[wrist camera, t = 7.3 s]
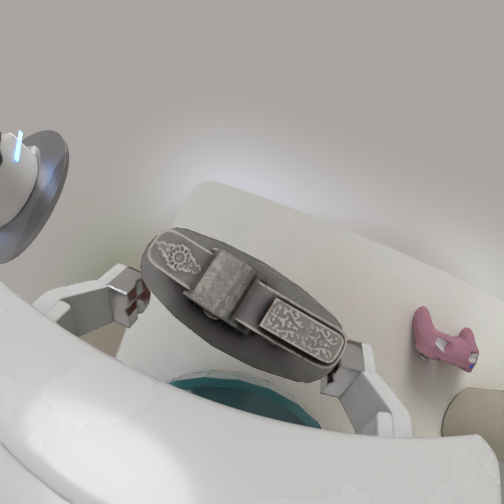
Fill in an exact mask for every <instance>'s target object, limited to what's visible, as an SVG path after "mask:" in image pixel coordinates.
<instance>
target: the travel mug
mask: <svg viewBox="0 0 504 504" xmlns="http://www.w3.org/2000/svg"><path fill="white" fill-rule="evenodd" d="M442 433H443V437H450V436H463V435H474V434H477V435H480V436H481V437H482V438H483V439H484V440H485V441H486V442H487V443H488V445H489V446H490V447H491V448H492V450H493V451H494V453H495V454H496V457H497V460H498V461H502V462H504V391H499V390H487V389H477V388H468V389H465V390H463V391H462V392H461V393H459V394H458V395H457V396H456V397H455V399H454V400H453V401H452V403H451V404H450V406H449V408H448V410H447V412H446V415H445V417H444V421H443V427H442Z"/></svg>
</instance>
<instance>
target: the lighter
mask: <svg viewBox="0 0 504 504" xmlns="http://www.w3.org/2000/svg"><path fill="white" fill-rule="evenodd" d="M140 269H141V276H142V279H143V281H144V283H145V285H146V286H147V288H148V289H149V290H150V291H151V292H152V293H153V294H154V295H155V296H156V297H157V299H158V300H159V301H160V302H161V303H162V304H163V305H164V306H165V307H166V308H167V309H168V310H169V311H170V312H171V313H172V315H173V316H174V317H176V318H177V319H178V320H179V321H180V322H182V323H183V324H184V325H185V326H187V327H188V328H189V329H191V330H192V331H193V332H194V333H196V334H197V335H198V336H200V337H201V338H202V339H204V340H205V341H206V342H207V343H209V344H210V345H211V346H213V347H215V348H217V349H219V350H221V351H222V352H224V353H226V354H228V355H230V356H232V357H234V358H236V359H238V360H240V361H242V362H244V363H246V364H248V365H250V366H252V367H254V368H256V369H259V370H262V371H265V372H268V373H271V374H274V375H277V376H280V377H283V378H286V379H289V380H293V381H296V382H305V383H309V382H313V381H316V380H319V379H321V378H323V377H324V376H326V375H327V374H328V373H330V372H331V371H332V369H333V368H334V367H335V366H336V364H337V363H338V361H339V360H340V359H341V357H342V355H343V353H344V351H345V349H346V346H347V336H346V335H345V333H344V332H343V331H342V327H341V325H340V323H339V322H338V321H337V319H336V318H335V317H334V316H333V315H332V314H331V313H330V312H328V311H327V310H326V309H325V308H324V307H323V306H322V305H320V304H319V303H318V302H317V301H316V300H315V299H314V298H312V297H311V296H310V295H309V294H308V293H307V292H306V291H304V290H303V289H302V288H301V287H299V286H298V285H296V284H295V283H293V282H292V281H290V280H289V279H288V278H286V277H285V276H283V275H282V274H280V273H279V272H277V271H276V270H274V269H273V268H271V267H270V266H269V265H267V264H266V263H264V262H262V261H260V260H258V259H256V258H254V257H252V256H250V255H248V254H246V253H244V252H242V251H240V250H238V249H236V248H234V247H232V246H230V245H228V244H226V243H224V242H222V241H219V240H216V239H213V238H210V237H208V236H205V235H202V234H199V233H197V232H194V231H191V230H188V229H185V228H177V227H176V228H172V229H166V230H164V231H162V232H161V233H160V234H158V235H157V236H156V237H155V238H154V239H153V240H152V241H151V242H150V243H149V244H148V245H147V247H146V249H145V251H144V253H143V255H142V260H141V265H140Z"/></svg>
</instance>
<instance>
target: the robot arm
mask: <svg viewBox="0 0 504 504" xmlns="http://www.w3.org/2000/svg"><path fill="white" fill-rule="evenodd" d="M21 140H22V132H21V131H19V135H18V138H17V137H16V136H14V135H13V134H12V133H9V134H8V133H6V134H4V135H1V132H0V228H1V227H2V226H4V225H6V224H7V223H9V222H10V221H11V220H13V219H14V218H15V217H16V216H17V214H18V213H19V212H20V211H21V209H22V208H23V206H24V205H25V203H26V202H27V200H28V198H29V196H30V194H31V192H32V190H33V188H34V185H35V182H36V179H37V174H38V164H37V156H38V151H39V149H38V148H37V147H36V146H30V147H26V146H25V145H24V144H23V143H22V142H21ZM149 301H150V291H149V289H148V288H147V286H146V285H145V283H144V281H143V279H142V276H141V272H140V271H138V270H135V269H133V268H131V267H128V266H126V265H123V264H121V263H118V264H116V265H115V266H114V267H113V268H111V269H110V270H109V271H108V272H107V273H105V274H104V275H103V276H102V277H101V278H99V279H98V280H97V281H95V280H90V281H86V282H82V283H78V284H73V285H68V286H64V287H60V288H56V289H51V290H48V291H47V292H45V293H44V294H43V295H41V296H40V297H39V298H38V299H37V300H36V301H34V302H33V303H32V304H29V303H28V302H27V301H25V300H24V299H23V298H22V297H20V296H19V295H18V294H17V293H15V292H14V291H13V290H12V289H11V288H9V287H8V286H7V285H6V284H5V283H4V282H2V281H1V280H0V504H501V482H500V472H499V464H498V460H497V457H496V454H495V453H494V451H493V450H492V448H491V447H490V446H489V445H488V443H487V442H486V441H485V440H484V439H483V438H482V437H481V436H480V435H477V434H474V435H463V436H450V437H414V435H413V427H412V420H411V414H410V413H409V411H408V410H407V409H406V407H405V406H404V405H403V403H402V402H401V401H400V400H399V398H398V397H397V396H396V395H395V393H394V392H393V391H392V389H391V388H390V387H389V386H388V384H387V383H386V382H385V381H384V379H383V378H382V377H381V376H380V375H378V374H377V371H376V364H375V358H374V352H373V346H372V345H371V344H367V343H362V342H357V341H353V340H349V339H347V346H346V349H345V351H344V353H343V355H342V357H341V359H340V360H339V361H338V363H337V364H336V366H335V367H334V368H333V369H332V371H331V372H330V373H328V374H327V375H326V376H324V377H323V379H322V380H321V392H320V394H324V395H329V396H333V397H337V398H339V400H340V402H341V404H342V406H343V408H344V409H345V411H346V413H347V415H348V417H349V419H350V421H351V423H352V425H353V427H354V429H355V431H356V432H355V433H354V434H353V433H345V432H337V431H331V430H324V429H318V428H313V427H308V426H302V425H298V424H293V423H288V422H284V421H279V420H275V419H271V418H267V417H263V416H260V415H256V414H252V413H249V412H245V411H242V410H239V409H235V408H232V407H229V406H226V405H223V404H220V403H217V402H214V401H211V400H208V399H206V398H203V397H200V396H197V395H195V394H192V393H190V392H187V391H184V390H182V389H179V388H177V387H175V386H172V385H170V384H167V383H165V382H163V381H161V380H158V379H156V378H154V377H152V376H150V375H147V374H145V373H143V372H141V371H139V370H137V369H135V368H133V367H131V366H129V365H127V364H125V363H123V362H121V361H119V360H117V359H115V358H113V357H112V356H109V355H108V354H106V353H104V352H102V351H100V350H99V349H97V348H95V347H94V346H92V345H90V344H89V343H87V342H85V341H84V340H82V339H80V338H79V336H81V335H84V334H86V333H88V332H91V331H93V330H95V329H97V328H100V327H102V326H104V325H107V324H109V323H112V322H113V321H114V322H116V323H119V324H121V325H123V326H125V327H127V328H130V327H131V326H132V325H133V324H134V323H135V321H136V320H137V319H138V315H137V314H139V313H143V312H144V311H145V309H146V308H147V306H148V304H149Z"/></svg>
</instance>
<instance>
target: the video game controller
mask: <svg viewBox="0 0 504 504" xmlns="http://www.w3.org/2000/svg"><path fill="white" fill-rule="evenodd" d="M413 333H414V338H415V341H416V345H415V346H416V348H417V349H418V350H419V351H420V352H421V353H423V354H420V356H421V358H422V359H423V360H429V358H431V359H434V360H440V359H442V360H444V361H446V362H448V363H450V364H453V365H455V366H458V367H459V368H460V369H462V370H464V371H466V372H471V371H472V369H473V367H474V366H475V364H476V362H477V359H478V356H479V351H478V348H477V346H476V343H475V339H474V335H473V332H472V331H471V329H470V328H464V329H463V330H462V331H461V332H460V335H459V337H451V336H449V335H447V334H444V333H442V332H439V331H437V330H436V329H435V328H434V326H433V324H432V321H431V317H430V314H429V311H428V310H427V308H426V307H420V308H418V310H417V311H416V312H415V315H414V319H413ZM428 357H429V358H428Z"/></svg>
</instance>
